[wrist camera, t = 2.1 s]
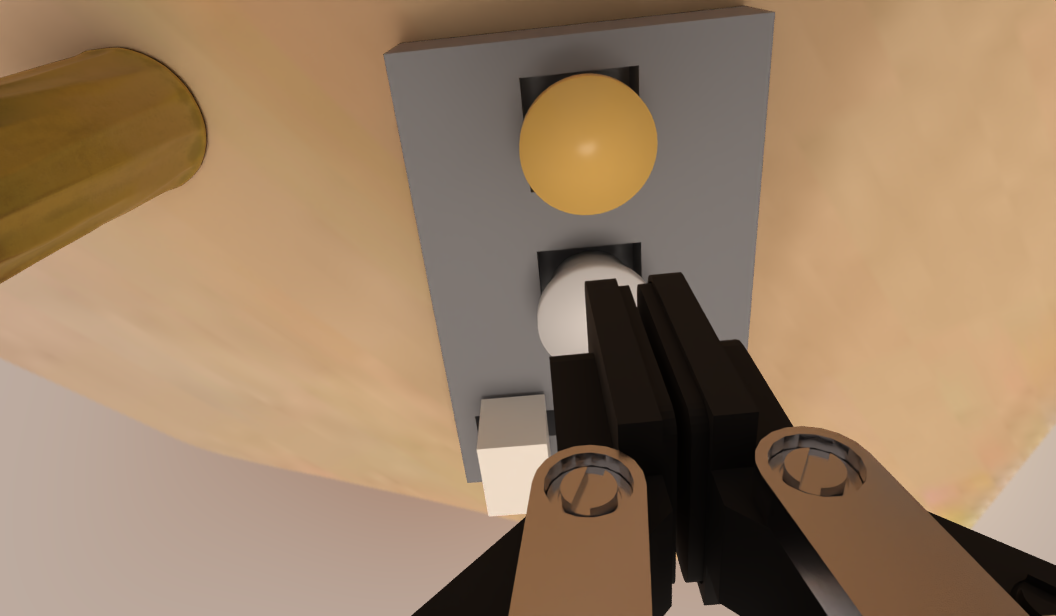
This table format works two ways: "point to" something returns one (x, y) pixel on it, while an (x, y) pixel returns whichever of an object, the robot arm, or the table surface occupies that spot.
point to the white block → (511, 450)
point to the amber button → (587, 144)
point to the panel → (552, 235)
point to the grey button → (576, 299)
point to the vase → (88, 147)
